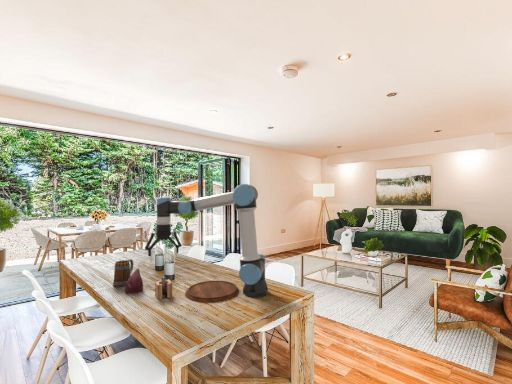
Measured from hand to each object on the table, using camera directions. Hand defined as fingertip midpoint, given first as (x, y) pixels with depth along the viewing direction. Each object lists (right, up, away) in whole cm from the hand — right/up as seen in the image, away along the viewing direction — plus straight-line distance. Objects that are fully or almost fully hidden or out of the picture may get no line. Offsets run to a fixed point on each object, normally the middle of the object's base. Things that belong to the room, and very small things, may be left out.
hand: (163, 260), depth 156 cm
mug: (-34, -21, +23) cm, 46 cm away
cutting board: (+27, -21, +6) cm, 35 cm away
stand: (0, -21, 0) cm, 21 cm away
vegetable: (-21, -21, +8) cm, 31 cm away
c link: (0, -21, 0) cm, 21 cm away
